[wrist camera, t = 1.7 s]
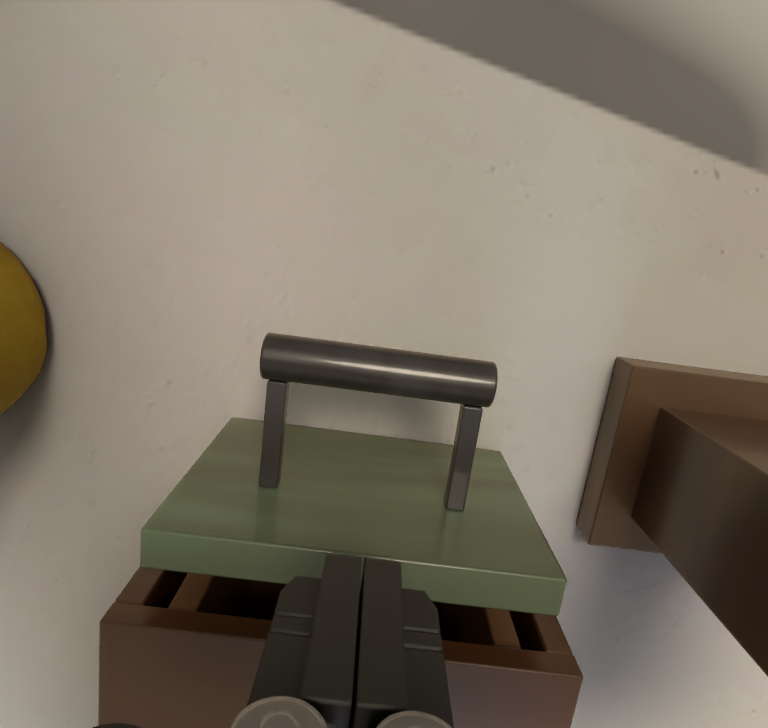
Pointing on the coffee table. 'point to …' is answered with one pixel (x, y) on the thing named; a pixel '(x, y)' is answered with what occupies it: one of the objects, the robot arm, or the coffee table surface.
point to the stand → (688, 484)
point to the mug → (19, 330)
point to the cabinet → (244, 651)
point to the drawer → (358, 500)
